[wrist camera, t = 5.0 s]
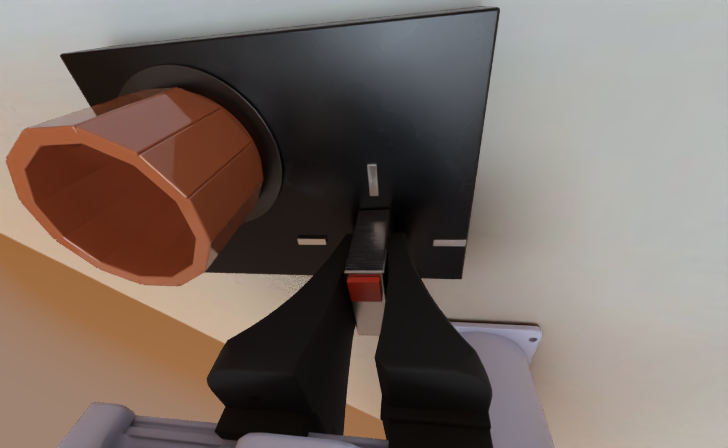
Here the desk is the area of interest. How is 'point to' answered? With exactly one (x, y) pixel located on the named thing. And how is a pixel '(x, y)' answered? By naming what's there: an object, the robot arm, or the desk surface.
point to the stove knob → (368, 269)
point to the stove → (345, 127)
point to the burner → (232, 102)
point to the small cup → (141, 182)
